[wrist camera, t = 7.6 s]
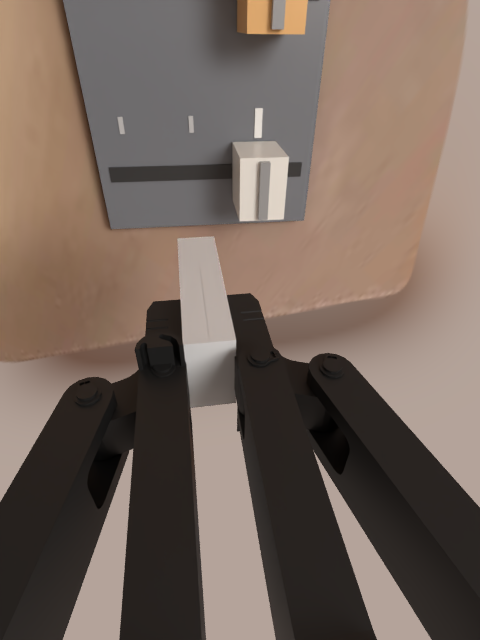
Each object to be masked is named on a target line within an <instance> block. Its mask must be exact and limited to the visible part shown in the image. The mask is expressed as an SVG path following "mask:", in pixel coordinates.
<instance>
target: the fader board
mask: <svg viewBox="0 0 480 640" xmlns="http://www.w3.org/2000/svg"><path fill="white" fill-rule="evenodd" d="M63 2H64V7H65V12H66V17H67V22H68V26H69V31H70V36H71V41H72V45H73V50H74V55H75V60H76V64H77V69H78V74H79V79H80V83H81V88H82V93H83V98H84V103H85V107H86V112H87V117H88V122H89V126H90V131H91V136H92V141H93V145H94V150H95V155H96V160H97V164H98V169H99V174H100V179H101V184H102V188H103V193H104V198H105V203H106V207H107V212H108V217H109V222H110V226H111V229H126V228H148V227H170V226H192V225H214V224H236V223H258V222H280V221H302V220H304V216H305V208H306V199H307V191H308V183H309V174H310V166H311V158H312V149H313V141H314V133H315V124H316V116H317V108H318V99H319V91H320V83H321V74H322V66H323V57H324V49H325V41H326V32H327V24H328V16H329V7H330V0H308V4H307V15H306V26H305V34H245V33H239V32H237V0H63ZM254 141H276V142H277V143H278V145H279V146H280V147H281V148H282V149H283V151H284V152H285V153H286V154H287V155H288V157H289V163H288V175H287V187H286V198H285V210H284V219H283V220H261V221H239V218H238V215H237V212H236V209H235V206H234V203H233V191H232V142H254Z"/></svg>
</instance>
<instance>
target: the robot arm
mask: <svg viewBox="0 0 480 640" xmlns="http://www.w3.org/2000/svg"><path fill="white" fill-rule="evenodd" d="M178 258H179V278H180V299H181V300H169V301H155V302H153V303H152V304H151V306H150V307H149V309H148V310H147V319H146V321H147V322H146V334H145V337H143V338H142V339H141V340H140V341H139V342H138V343H137V345H136V347H135V353H136V357H137V362H138V367H139V370H138V371H137V372H136V373H135V374H133V375H132V376H130V377H128V378H126V379H124V380H121V381H118V382H115V383H112V384H111V383H110V382H109V381H107V380H106V379H103V378H99V377H91V378H90V377H89V378H85V379H82V380H79V381H78V382H76V383H74V384H73V385H71V386H70V387H69V388H68V389H67V390H66V391H65V393H64V394H63V396H62V398H61V399H60V401H59V403H58V404H57V406H56V408H55V410H54V411H53V413H52V415H51V416H50V418H49V420H48V421H47V423H46V425H45V427H44V428H43V430H42V432H41V433H40V435H39V437H38V439H37V440H36V442H35V444H34V445H33V447H32V449H31V451H30V452H29V454H28V456H27V457H26V459H25V461H24V463H23V464H22V466H21V468H20V470H19V471H18V473H17V475H16V476H15V478H14V480H13V481H12V483H11V485H10V487H9V488H8V490H7V492H6V494H5V495H4V497H3V499H2V500H1V502H0V640H63V637H64V634H65V631H66V628H67V626H68V623H69V620H70V617H71V614H72V611H73V609H74V606H75V603H76V600H77V597H78V595H79V592H80V589H81V586H82V583H83V580H84V578H85V575H86V572H87V569H88V566H89V564H90V561H91V558H92V555H93V552H94V549H95V547H96V544H97V541H98V538H99V535H100V533H101V530H102V527H103V524H104V521H105V518H106V516H107V513H108V510H109V507H110V504H111V502H112V499H113V496H114V493H115V490H116V487H117V485H118V481H119V479H120V476H121V473H122V471H123V468H124V465H125V462H126V459H127V456H128V454H129V450H131V449H133V448H134V449H133V463H132V476H131V477H132V478H131V491H130V504H129V517H128V518H129V519H128V531H127V545H126V558H125V573H124V586H123V599H122V613H121V626H120V640H206V635H205V634H206V633H205V618H204V604H203V588H202V573H201V558H200V542H199V527H198V511H197V496H196V480H195V465H194V451H193V435H192V420H191V410H190V408H193V407H202V406H211V405H220V404H229V403H236V400H237V406H238V412H237V414H238V415H237V431H240V434H241V440H242V446H243V451H244V458H245V463H246V469H247V475H248V481H249V486H250V492H251V498H252V504H253V510H254V515H255V521H256V527H257V532H258V539H259V544H260V550H261V556H262V562H263V568H264V573H265V579H266V585H267V591H268V596H269V602H270V608H271V614H272V619H273V625H274V631H275V637H276V640H377V639H376V636H375V634H374V631H373V628H372V625H371V622H370V619H369V616H368V613H367V610H366V607H365V604H364V602H363V599H362V595H361V592H360V589H359V586H358V583H357V580H356V577H355V574H354V572H353V568H352V565H351V562H350V559H349V557H348V554H347V550H346V547H345V544H344V541H343V538H342V535H341V533H340V529H339V526H338V524H337V520H336V517H335V514H334V511H333V508H332V505H331V502H330V499H329V496H328V493H327V490H326V488H325V485H324V481H323V478H322V475H321V472H320V470H319V466H318V464H317V461H316V458H315V455H314V452H315V454H316V455H317V457H318V458H319V460H320V462H321V463H322V465H323V466H324V468H325V470H326V471H327V473H328V474H329V476H330V478H331V479H332V481H333V482H334V484H335V486H336V487H337V489H338V490H339V492H340V493H341V495H342V497H343V498H344V500H345V501H346V503H347V505H348V506H349V508H350V509H351V511H352V513H353V514H354V516H355V518H356V519H357V521H358V522H359V524H360V525H361V527H362V529H363V530H364V532H365V534H366V535H367V537H368V538H369V540H370V542H371V543H372V545H373V546H374V548H375V550H376V551H377V553H378V554H379V556H380V557H381V559H382V561H383V562H384V564H385V566H386V567H387V569H388V570H389V572H390V573H391V575H392V577H393V578H394V580H395V582H396V583H397V585H398V586H399V588H400V590H401V591H402V593H403V594H404V596H405V597H406V599H407V600H408V602H409V604H410V605H411V607H412V609H413V610H414V612H415V614H416V615H417V617H418V618H419V620H420V622H421V623H422V625H423V626H424V628H425V630H426V631H427V633H428V634H429V636H430V637H431V639H432V640H480V507H479V506H478V505H477V504H476V503H475V502H474V501H473V500H472V498H471V497H470V496H469V495H468V494H467V493H466V492H465V491H464V490H463V488H462V487H461V486H460V485H459V484H458V483H457V482H456V480H455V479H454V478H453V477H452V476H451V475H450V474H449V473H448V471H447V470H446V469H445V468H444V467H443V466H442V465H441V464H440V462H439V461H438V460H437V459H436V458H435V457H434V456H433V455H432V453H431V452H430V451H429V450H428V449H427V448H426V447H425V446H424V445H423V443H422V442H421V441H420V440H419V439H418V438H417V437H416V435H415V434H414V433H413V432H412V431H411V430H410V429H409V428H408V426H407V425H406V424H405V423H404V422H403V421H402V420H401V419H400V417H399V416H398V415H397V414H396V413H395V412H394V411H393V410H392V408H391V407H390V406H389V405H388V404H387V403H386V402H385V401H384V399H383V398H382V397H381V396H380V395H379V394H378V393H377V392H376V390H375V389H374V388H373V387H372V386H371V385H370V384H369V383H368V381H367V380H366V379H365V378H364V377H363V376H362V375H361V374H360V373H359V371H358V370H357V369H356V368H355V367H354V366H353V365H352V364H351V363H350V362H349V361H348V360H347V359H346V358H344V357H342V356H339V355H337V354H330V353H325V354H319V355H317V356H315V357H314V358H312V360H311V361H310V363H303V362H296V361H292V360H289V359H286V358H284V357H282V356H281V355H280V353H279V351H278V350H276V349H275V348H274V347H273V345H272V342H271V338H270V335H269V332H268V329H267V326H266V323H265V320H264V317H263V314H262V312H261V307H260V304H259V301H258V300H257V299H256V298H255V297H254V296H253V295H252V294H250V293H249V294H236V295H226V290H225V286H224V281H223V276H222V272H221V267H220V262H219V258H218V253H217V248H216V244H215V239H214V236H212V237H194V238H178ZM313 450H314V452H313Z"/></svg>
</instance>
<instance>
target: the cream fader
mask: <svg viewBox="0 0 480 640" xmlns="http://www.w3.org/2000/svg"><path fill="white" fill-rule="evenodd" d="M288 163H289V157H288V155H287V154H286V153H285V152H284V151H283V149H282V148H281V147H280V146H279V145H278V143H277V142H276V141H254V142H232V191H233V203H234V206H235V209H236V212H237V215H238V218H239V221H261V220H283V219H284V210H285V198H286V187H287V175H288Z"/></svg>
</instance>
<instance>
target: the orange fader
mask: <svg viewBox="0 0 480 640" xmlns="http://www.w3.org/2000/svg"><path fill="white" fill-rule="evenodd" d="M307 4H308V0H237V32H239V33H245V34H305V26H306V15H307Z"/></svg>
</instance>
